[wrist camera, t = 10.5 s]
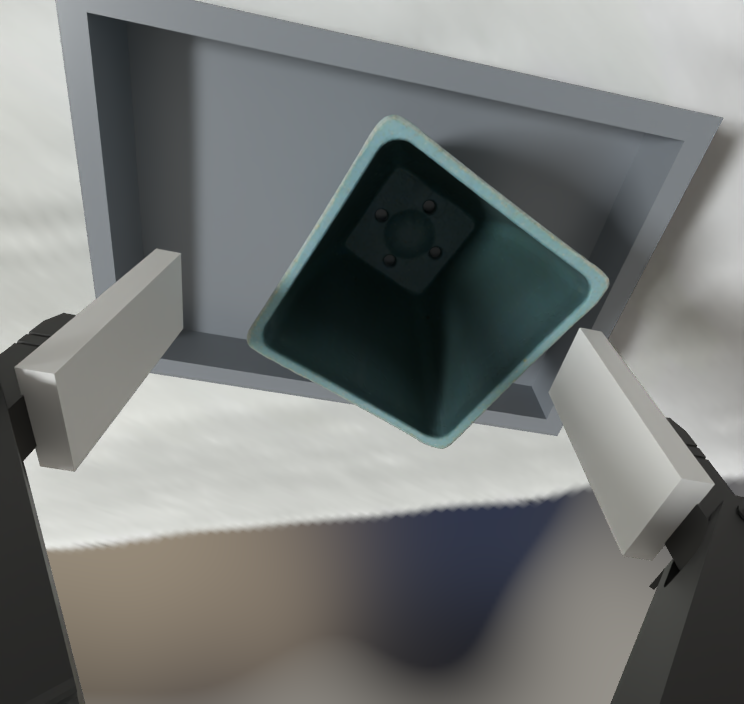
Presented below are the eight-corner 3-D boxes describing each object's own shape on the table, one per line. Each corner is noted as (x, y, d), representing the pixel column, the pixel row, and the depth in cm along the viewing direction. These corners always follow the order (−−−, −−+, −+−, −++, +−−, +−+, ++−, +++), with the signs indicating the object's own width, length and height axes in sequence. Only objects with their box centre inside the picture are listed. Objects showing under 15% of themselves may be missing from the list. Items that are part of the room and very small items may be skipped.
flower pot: (542, 208, 22) (621, 285, 15) (427, 341, 26) (442, 456, 19) (389, 88, 20) (388, 105, 12) (287, 253, 24) (239, 344, 16)
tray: (668, 106, 21) (723, 117, 18) (536, 391, 30) (557, 436, 26) (109, -17, 19) (51, -32, 16) (138, 327, 28) (104, 365, 24)
